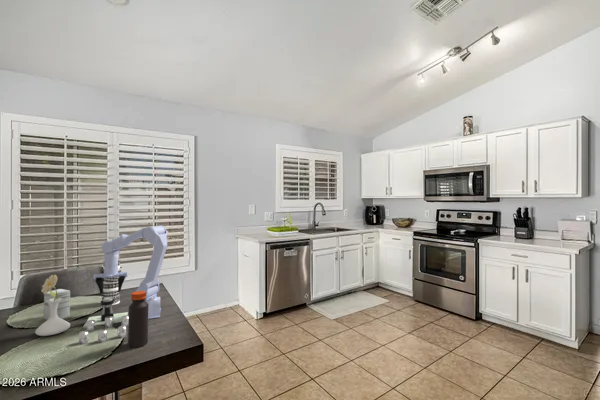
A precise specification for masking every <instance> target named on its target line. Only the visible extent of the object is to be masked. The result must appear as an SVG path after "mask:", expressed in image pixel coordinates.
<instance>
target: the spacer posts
mask: <svg viewBox="0 0 600 400" xmlns="http://www.w3.org/2000/svg"><path fill="white" fill-rule="evenodd" d="M128 320H129V314H128V315H125V316H122V322H120V323H121V325H119V326H118V327H117V338H118V339H123V338H126V337H127V327H128ZM85 323H86V327H85V330H82V331H79V332H78V344H79V345H85V344H88V343H89V333H91V332H94V331H95V330H96V329H95V328H96V326H95V320H89V321H87V320H86V322H85ZM113 326H114V323H113V317H112V316H109V317H106V318H105V325H104V328H105V329H100V330H98V331H97V343H99V344H100V343H101V344H102V343H105V342H107V341H108V329H110V328H113Z"/></svg>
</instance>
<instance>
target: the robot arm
mask: <svg viewBox="0 0 600 400" xmlns="http://www.w3.org/2000/svg"><path fill="white" fill-rule="evenodd" d="M168 233H169V231H168V230H167V229H166V227H165V226H164V225H155V226H146V227H143V228H140V229H139V230H136V231H135V232H133V233H131V234H129V235H128V234H124V233H122V234H119V236H118V237H115V238H112V240H107V241H104V242H103V243H102V245H101V250H102V252H103V253H104V260H105V261H104V260H103V266H104V273H103V274H102V273H95V274H93V276H92V277H93V278H92V279H93V280H95V283H96V285H97V287H98V290H99V293H100V294H101V295H102V294H103V281H104V278H113V277H120V278H118V284H119V286H118V292H120V293H121V292H122V288H123V283H124V282H125V280H126V278H128V276H129V273H128V271H127V272H126V271H125V272H122V271H121V272H118V258H119V254H120V250H121V249H124V248H125V247H128V246H130V245H131V244H132V242H134V241H136V240H138V239H141V238H143V239H145V240H146V241H147V242H148V243H149V244H150V245H151V246H153V250H152V252H151V258H150V259H149V264H148V267H147V270H146V274H145V277H144V279H143V280H142V281H140V284H139V285H138V287H137V288H136V290H135V292H137V291H146V299H145V301H146V302H147V303H148V320H151V319H158V318H161V312H162V308H161V296H158V293H159V291H160V283H161V281H160V280H159V279H158V277H159V275H160V271H161V268H162V265H163V263H164V262H163V261H164V258H165V255H166V252H167V247H168V237H167V236H168Z"/></svg>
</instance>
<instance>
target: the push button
mask: <svg viewBox="0 0 600 400" xmlns="http://www.w3.org/2000/svg"><path fill="white" fill-rule="evenodd" d="M100 303H101V306H102V313H101V315H100V316H101V318H97V319H101V320H97V321H102V322H103V321H105V318H106V317H109V316H112V317H113V314H114V313H113V305H112V304H113V303H114V299H112V297H107V298H104V299H103V300H102V299H101V301H100Z"/></svg>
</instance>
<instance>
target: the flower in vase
mask: <svg viewBox="0 0 600 400" xmlns="http://www.w3.org/2000/svg"><path fill="white" fill-rule="evenodd" d="M57 282H58V276H57V275H56V274H51V275H50V276H49V277H48V278H46V279H45V280H44V284H42V286H41V288H42V289H41V293H42V294H43V295H44V293H48V292H49V291H50V293H49V294H50V295H51V296H53V297H55V298H53V299H49V300H47V301H46V302H47V303H48V304H49V306H50V317H49V319H48V320H45V321H44V322H43V323H42V324H40V325H39V326H38V327H37V328H36V329H35V335H37V336H40V337H45V336H46V337H47V336H53V335H58V334H61V333H62V332H65V331H67V330H68V329H69V328H70V327H71V323H70V322H69V321H67V320H65V319H64V318H63V319H61V318H59V317H58V316H57V307H58V304H59V302H60V300H61V298H58V294H59V293H57V289H56V287H55V286H56V284H57ZM52 289H54V290H55V291H56V293H54V292H52V291H53V290H52Z"/></svg>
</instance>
